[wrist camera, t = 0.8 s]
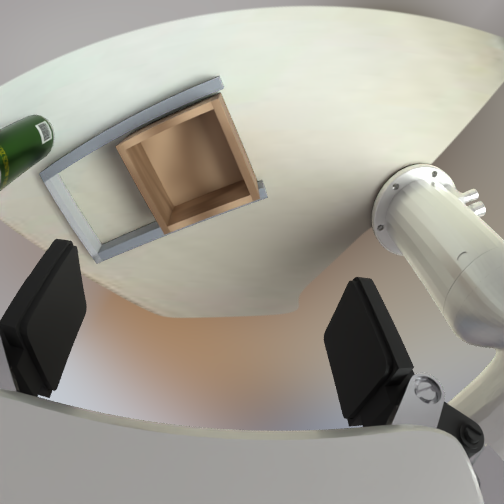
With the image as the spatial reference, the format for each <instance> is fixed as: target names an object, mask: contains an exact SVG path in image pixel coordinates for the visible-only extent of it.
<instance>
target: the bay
mask: <svg viewBox="0 0 504 504" xmlns="http://www.w3.org/2000/svg"><path fill="white" fill-rule="evenodd" d="M223 88H224V86H223V83H222V81H221V79H220V76H219V77H216V78H213V79H211V80H209V81H206V82H204V83H201V84H199V85H196V86H194V87H192V88H190V89H187V90H185V91H183V92H180V93H178V94H176V95H174V96H172V97H170V98H167V99H165V100H163V101H161V102H159V103H157V104H155V105H153V106H151V107H149V108H147V109H145V110H143V111H141V112H139V113H137V114H135V115H133V116H131V117H129V118H127V119H126V120H124V121H122V122H120V123H118V124H116V125H115V126H113V127H111V128H109V129H108V130H106V131H104V132H102V133H101V134H99V135H97V136H95V137H94V138H92V139H90V140H89V141H87V142H86V143H84V144H82V145H81V146H79V147H77V148H76V149H74V150H73V151H71V152H70V153H68V154H66V155H65V156H63V157H62V158H60V159H59V160H57V161H56V162H54V163H53V164H51V165H50V166H49V167H47V168H46V169H45V170H43V171H42V172H41V173H39V175H40V176H41V178H42V180H43V182H44V183H45V185H46V187H47V188H48V190H49V192H50V193H51V195H52V197H53V198H54V200H55V202H56V203H57V205H58V207H59V208H60V210H61V211H62V213H63V215H64V216H65V218H66V219H67V221H68V222H69V224H70V225H71V227H72V228H73V230H74V231H75V233H76V234H77V236H78V237H79V239H80V240H81V242H82V243H83V245H84V246H85V248H86V249H87V251H88V252H89V254H90V255H91V256H92V258H93V259H94V261H95V262H96V263H100V262H102V261H104V260H107V259H109V258H112V257H114V256H116V255H119V254H121V253H124V252H126V251H129V250H131V249H133V248H136V247H138V246H141V245H143V244H146V243H148V242H151V241H153V240H156V239H158V238H161V237H163V236H166V235H168V234H171V233H174V232H176V231H179V230H181V229H184V228H186V227H189V226H192V225H194V224H197V223H200V222H202V221H205V220H207V219H210V218H213V217H215V216H218V215H221V214H224V213H226V212H229V211H232V210H234V209H237V208H240V207H243V206H245V205H248V204H251V203H254V202H256V201H259V200H262V199H265V198H268V197H267V192H266V189H265V186H264V184H263V181H259V182H257V184H258V189H259V195H260V199H258V200H256V201H253V202H250V203H247V204H245V205H242V206H239V207H236V208H234V209H231V210H228V211H225V212H223V213H220V214H217V215H215V216H212V217H209V218H207V219H204V220H202V221H199V222H196V223H194V224H191V225H188V226H186V227H183V228H181V229H178V230H176V231H173V232H170V233H168V234H165V235H164V233H163V231H162V229H161V228H160V226H159V224H158V223H157V221H156V222H153V223H151V224H149V225H146V226H144V227H141V228H139V229H137V230H134V231H132V232H130V233H128V234H125V235H123V236H121V237H118V238H116V239H114V240H112V241H109V242H107V243H105V244H103V245H102V243H101V242H100V240H99V239H98V237H97V236H96V234H95V233H94V231H93V230H92V228H91V226H90V225H89V223H88V222H87V220H86V219H85V217H84V215H83V214H82V212H81V211H80V209H79V207H78V206H77V204H76V203H75V201H74V199H73V198H72V196H71V194H70V193H69V191H68V189H67V188H66V186H65V184H64V182H63V181H62V179H61V177H60V176H59V174H58V173H59V172H61V171H62V170H64V169H65V168H67V167H68V166H70V165H72V164H73V163H75V162H77V161H78V160H80V159H81V158H83V157H85V156H86V155H88V154H90V153H91V152H93V151H95V150H97V149H98V148H100V147H102V146H104V145H105V144H107V143H109V142H111V141H113V140H114V139H116V138H118V137H120V136H122V135H124V134H125V133H127V132H129V131H131V130H133V129H135V128H137V127H139V126H141V125H143V124H145V123H147V122H149V121H151V120H153V119H155V118H157V117H159V116H161V115H163V114H165V113H168V112H170V111H172V110H174V109H176V108H179V107H181V106H183V105H185V104H188V103H190V102H192V101H194V100H197V99H199V98H202V97H204V96H206V95H209V94H211V93H214V92H216V91H219V90H221V89H223Z"/></svg>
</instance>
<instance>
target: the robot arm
mask: <svg viewBox="0 0 504 504" xmlns="http://www.w3.org/2000/svg"><path fill="white" fill-rule="evenodd" d="M476 199H478V193H477V191H476V190H475V189H472V190H469V191H466V192H465V193H461V192H459V191H457V190H456V187H455V185H454V183H453V181H452V179H451V178H450V177H449V176H448V175H447V174H446V173H445V172H444V171H442V170H441V169H439V168H438V167H435V166H433V165H429V164H416V165H412V166H409V167H406V168H404V169H402V170H400V171H398V172H397V173H396V174H395V175H393V176H392V177H391V178H390V179H389V180H388V181H387V182H386V183H385V184H384V186H383V187H382V189H381V190H380V192H379V193H378V195H377V198H376V200H375V202H374V206H373V210H372V228H373V231H374V234H375V236H376V238H377V239H378V241H379V242H380V243H381V245H382V246H383V247H384V248H385V249H387V250H388V251H389V252H391V253H393V254H396V255H401V256H404V257H405V258H406V260H407V261H408V262H409V264H410V265H411V267H412V268H413V270H414V271H415V273H416V274H417V276H418V277H419V279H420V280H421V282H422V283H423V285H424V286H425V288H426V289H427V291H428V293H429V294H430V296H431V297H432V298H433V300H434V302H435V304H436V305H437V307H438V308H439V310H440V312H441V313H442V315H443V317H444V318H445V320H446V321H447V323H448V325H449V326H450V328H451V329H452V330H453V332H454V333H455V335H456V336H457V337H458V338H460V339H461V340H462V341H464V342H466V343H468V344H470V345H474V346H479V347H485V348H494V349H495V350H496V355H495V357H494V359H493V360H492V361H491V362H490V363H489V365H488V366H487V367H486V368H485V369H484V370H483V372H482V373H481V374H480V375H479V376H478V377H477V378H475V379H474V380H473V381H472V382H471V383H470V384H469V385H468V386H467V387H465V388H464V389H463V390H462V391H461V392H460V393H459V394H458V395H456V396H455V397H454V398H453V399H452V400H451V401H449V402H448V403H446V402H444V400H445V392H444V388H443V386H442V384H441V383H440V382H439V381H438V380H437V379H436V378H435V377H434V376H432V375H430V374H428V373H423V372H420V373H416V374H414V372H413V370H412V369H413V368H414V366H413V364H412V362H411V360H410V357H409V355H408V353H407V351H406V348H405V346H404V344H403V342H402V340H401V337H400V335H399V333H398V331H397V329H396V327H395V325H394V323H393V321H392V319H391V316H390V315H389V313H388V310H387V309H386V306H385V304H384V302H383V300H382V298H381V296H380V294H379V292H378V290H377V288H376V286H375V284H374V282H373V281H372V279H370V278H361V277H356V278H354V279H353V281H349V283H348V284H347V287H346V289H345V291H344V293H343V295H342V298H341V300H340V302H339V304H338V306H337V308H336V310H335V312H334V314H333V317H332V319H331V321H330V323H329V325H328V327H327V329H326V331H325V334H324V343H325V347H326V351H327V354H328V358H329V362H330V366H331V370H332V374H333V377H334V382H335V386H336V389H337V393H338V398H339V402H340V405H341V410H342V414H343V416H344V418H346V419H347V420H348V424H349V426H359V425H363V427H360V428H345V429H329V430H308V431H250V430H228V429H212V428H201V427H190V426H181V425H172V424H165V423H157V422H150V421H144V420H137V419H131V418H126V417H120V416H115V415H110V414H105V413H100V412H96V411H91V410H87V409H82V408H78V407H74V406H70V405H66V404H61V403H58V402H54V401H50V400H46V399H43V398H39V397H37V396H38V395H41V396H45V397H48V398H50V395H51V393H52V390H54V391H55V390H56V389H57V387H58V384H59V381H60V379H61V376H62V373H63V370H64V367H65V365H66V362H67V359H68V357H69V354H70V351H71V348H72V346H73V343H74V341H75V338H76V336H77V333H78V331H79V328H80V326H81V324H82V321H83V319H84V316H85V314H86V300H85V295H84V289H83V284H82V277H81V271H80V264H79V257H78V250H77V247H76V246H73V243H72V241H68V240H61V239H55V240H54V242H53V243H52V244H51V246H50V247H49V248H48V250H47V251H46V252H45V254H44V255H43V257H42V258H41V259H40V261H39V262H38V264H37V265H36V266H35V268H34V269H33V271H32V272H31V274H30V275H29V277H28V278H27V279H26V280H25V282H24V283H23V285H22V286H21V288H20V290H19V291H18V293H17V294H16V296H15V297H14V299H13V301H12V302H11V304H10V305H9V307H8V309H7V310H6V312H5V314H4V315H3V317H2V319H1V320H0V504H504V240H502V238H501V237H500V236H499V235H498V234H497V233H496V232H494V230H492V229H491V228H490V227H489V226H488V225H487V224H486V223H485V222H484V221H483V220H482V219H481V218H480V216H483V215H484V214H485V206H484V204H483V203H482V202H481V201H479V202H476V203H473V204H471V205H469V206H466V205H465V203H466V202H471V201H473V200H476Z"/></svg>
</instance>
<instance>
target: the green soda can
mask: <svg viewBox="0 0 504 504" xmlns="http://www.w3.org/2000/svg"><path fill="white" fill-rule="evenodd" d="M53 143H54V130H53V127H52V125H51V123H50V122H49V121H48V120H47V119H46V118H44V117H42V116H39V115H32V116H28V117H26V118H24V119H21V120H19V121H17V122H15V123H13V124H11V125H9V126H6V127H4V128H2V129H0V191H1V190H2V189H3V188H5V187H6V186H7V185H8V184H10V183H11V182H12V181H13V180H15V179H16V178H17V177H19V176H20V175H21V174H22V173H24V172H25V171H26V170H28V169H29V168H31V167H32V166H33V165H35V164H36V163H37V162H39V161H40V160H42V159H43V158H44V157H46V156H47V155H48V153H49V152H50V151H51V148H52V146H53Z"/></svg>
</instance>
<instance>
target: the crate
mask: <svg viewBox="0 0 504 504" xmlns="http://www.w3.org/2000/svg"><path fill="white" fill-rule="evenodd" d="M116 149H117V150H118V152H119V154H120V156H121V158H122V160H123V162H124V164H125V165H126V167H127V169H128V171H129V173H130V175H131V176H132V178H133V180H134V182H135V184H136V186H137V187H138V189H139V191H140V193H141V195H142V196H143V198H144V200H145V202H146V203H147V205H148V207H149V209H150V210H151V212H152V214H153V216H154V217H155V219H156V221H157V223H158V224H159V226H160V228H161V229H162V231H163V233H164V235H165V234H168V233H170V232H173V231H176V230H178V229H181V228H183V227H186V226H188V225H191V224H194V223H196V222H199V221H202V220H204V219H207V218H209V217H212V216H215V215H217V214H220V213H223V212H225V211H228V210H231V209H234V208H236V207H239V206H242V205H245V204H247V203H250V202H253V201H256V200H258V199H260V195H259V189H258V184H257V179H256V177H255V174H254V172H253V169H252V167H251V164H250V162H249V159H248V157H247V154H246V152H245V149H244V147H243V145H242V142H241V140H240V137H239V135H238V133H237V130H236V128H235V125H234V123H233V121H232V118H231V116H230V113H229V111H228V109H227V106H226V104H225V102H224V99H223V97H222V95H221V93H218V94H216V95H213V96H211V97H208V98H206V99H203V100H201V101H199V102H196V103H194V104H192V105H189V106H187V107H185V108H182V109H180V110H178V111H176V112H174V113H171V114H169V115H167V116H165V117H163V118H161V119H159V120H157V121H154V122H152V123H150V124H148V125H146V126H144V127H142V128H140V129H138V130H136V131H134V132H133V133H131V134H130V135H128V136H127V137H126V138H125V139H124V140H122V141H121V142H120V143H119V144H118V145H117V146H116Z"/></svg>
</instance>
